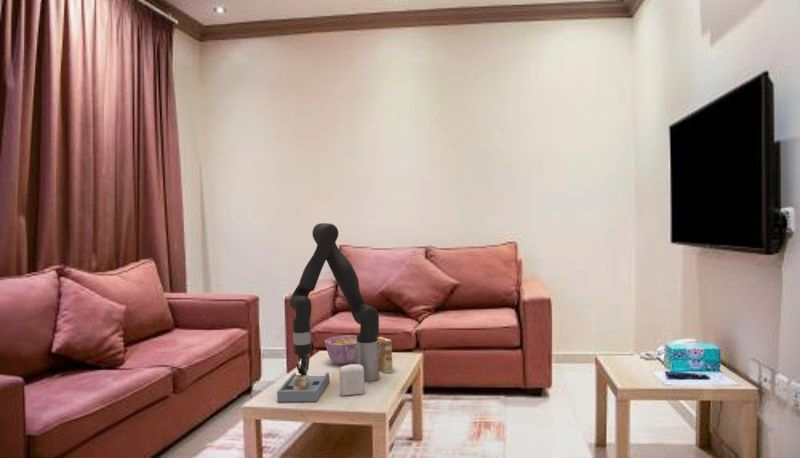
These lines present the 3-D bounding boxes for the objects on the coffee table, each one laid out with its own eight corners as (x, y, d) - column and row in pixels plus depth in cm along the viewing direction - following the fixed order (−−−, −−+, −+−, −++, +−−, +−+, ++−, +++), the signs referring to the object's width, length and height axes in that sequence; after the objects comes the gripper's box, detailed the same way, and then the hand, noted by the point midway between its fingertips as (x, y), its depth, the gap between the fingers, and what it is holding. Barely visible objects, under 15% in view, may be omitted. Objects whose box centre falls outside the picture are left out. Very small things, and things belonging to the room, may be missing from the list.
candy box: (393, 372, 274) (392, 339, 273) (385, 373, 271) (384, 341, 271) (383, 368, 281) (382, 336, 280) (375, 369, 279) (374, 337, 278)
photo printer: (363, 391, 247) (362, 362, 247) (365, 394, 243) (364, 364, 243) (339, 393, 245) (338, 364, 244) (340, 396, 241) (339, 367, 240)
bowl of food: (356, 369, 280) (355, 345, 280) (318, 367, 286) (317, 343, 286) (371, 358, 299) (370, 336, 299) (335, 356, 305) (334, 334, 305)
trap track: (329, 382, 261) (328, 372, 261) (316, 402, 235) (316, 391, 235) (293, 382, 262) (293, 372, 262) (277, 402, 236) (277, 391, 236)
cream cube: (308, 386, 246) (308, 375, 245) (305, 390, 241) (304, 378, 240) (296, 386, 246) (296, 375, 246) (293, 390, 241) (293, 378, 241)
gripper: (307, 345, 241) (309, 387, 242) (314, 338, 254) (316, 377, 255) (289, 346, 241) (291, 387, 242) (297, 338, 255) (299, 377, 255)
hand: (304, 382), depth 249 cm, fingers closed
